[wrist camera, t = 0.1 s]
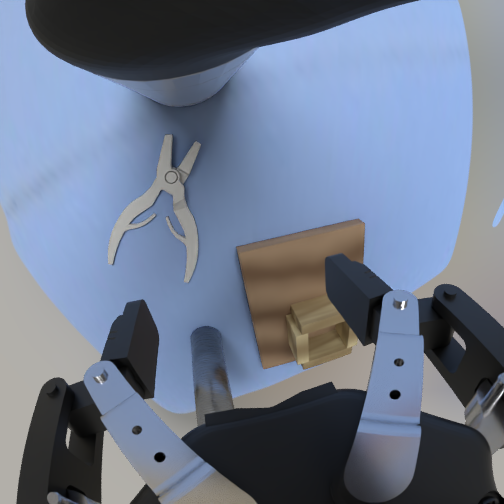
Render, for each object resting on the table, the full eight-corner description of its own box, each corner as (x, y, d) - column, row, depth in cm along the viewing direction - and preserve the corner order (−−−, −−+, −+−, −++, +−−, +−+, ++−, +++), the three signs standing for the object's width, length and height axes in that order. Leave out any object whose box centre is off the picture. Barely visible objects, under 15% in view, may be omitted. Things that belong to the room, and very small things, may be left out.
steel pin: (186, 330, 34) (194, 442, 20) (216, 323, 34) (237, 435, 20) (195, 349, 36) (207, 455, 22) (223, 343, 36) (245, 449, 22)
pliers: (104, 267, 27) (132, 125, 21) (107, 260, 28) (136, 125, 22) (190, 287, 30) (234, 153, 24) (190, 279, 31) (232, 151, 26)
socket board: (236, 246, 30) (245, 273, 25) (358, 218, 31) (384, 237, 27) (261, 362, 40) (270, 390, 35) (350, 333, 41) (366, 357, 36)
